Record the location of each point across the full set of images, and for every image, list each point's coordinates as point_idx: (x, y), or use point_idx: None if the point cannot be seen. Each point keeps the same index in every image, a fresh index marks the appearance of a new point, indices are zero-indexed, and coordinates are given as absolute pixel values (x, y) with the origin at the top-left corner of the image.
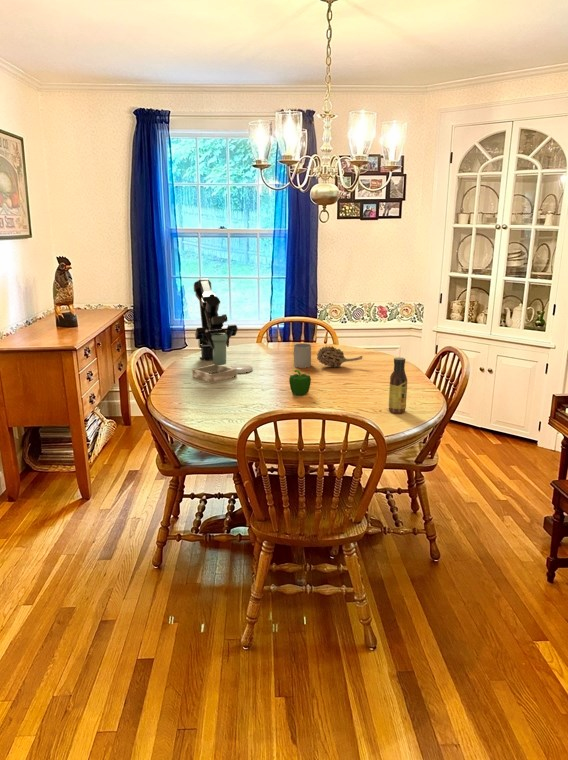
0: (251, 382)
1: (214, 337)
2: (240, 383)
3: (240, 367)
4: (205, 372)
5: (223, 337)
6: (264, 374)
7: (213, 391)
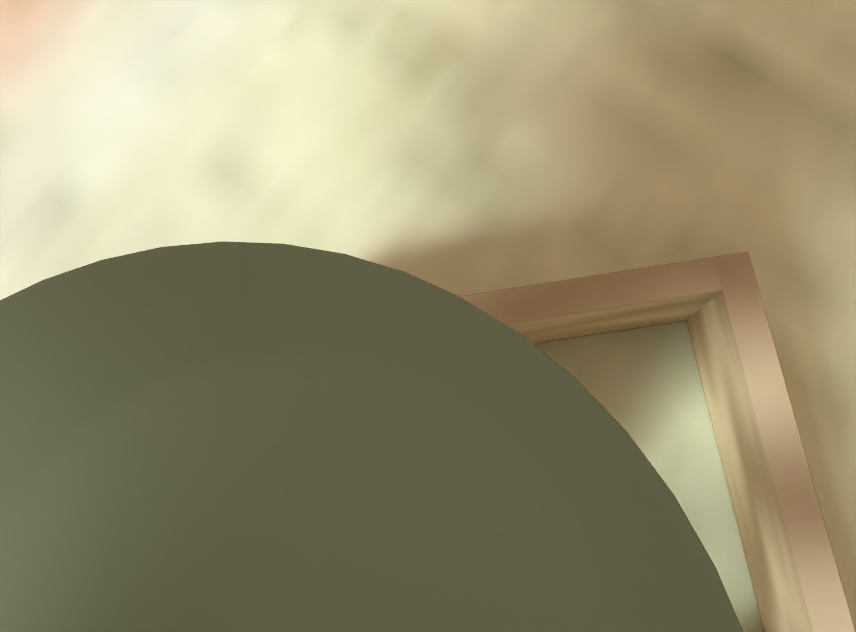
0: (324, 49)
1: (702, 574)
2: (439, 84)
3: None
4: (769, 449)
5: (242, 261)
6: (8, 220)
7: (838, 7)
